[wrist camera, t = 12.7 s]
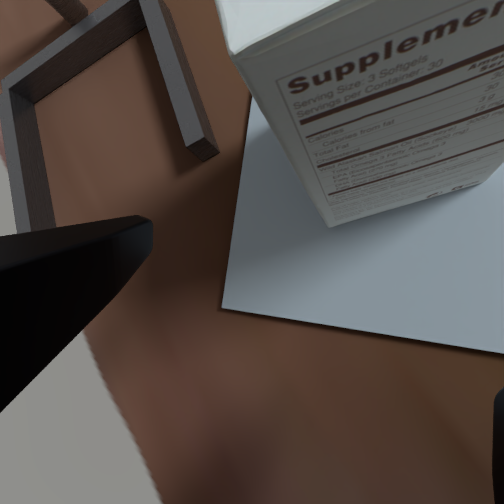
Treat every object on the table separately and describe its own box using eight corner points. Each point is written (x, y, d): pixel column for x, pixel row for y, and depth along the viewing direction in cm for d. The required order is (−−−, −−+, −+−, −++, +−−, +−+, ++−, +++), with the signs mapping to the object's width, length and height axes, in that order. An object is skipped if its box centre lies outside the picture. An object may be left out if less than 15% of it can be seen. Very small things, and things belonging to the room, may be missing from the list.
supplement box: (292, 108, 18) (151, -243, 7) (437, 50, 16) (605, -616, 5) (324, 233, 17) (213, 59, 5) (491, 187, 15) (984, -309, 3)
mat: (537, 358, 14) (543, 359, 13) (225, 307, 18) (221, 307, 18) (548, 43, 15) (553, 35, 15) (259, 74, 20) (256, 68, 20)
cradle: (219, 152, 20) (30, -41, 9) (45, 245, 24) (-243, 190, 13) (149, -47, 25) (-31, -334, 14) (13, 56, 29) (-217, -105, 17)
